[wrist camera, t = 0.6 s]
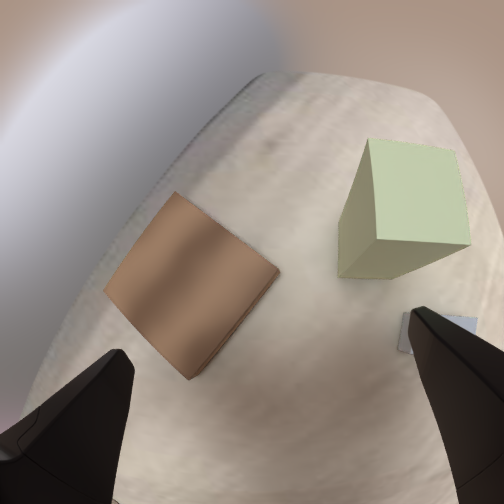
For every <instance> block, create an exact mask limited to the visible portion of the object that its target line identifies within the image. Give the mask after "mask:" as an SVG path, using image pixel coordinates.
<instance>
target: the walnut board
mask: <svg viewBox="0 0 504 504" xmlns="http://www.w3.org/2000/svg"><path fill="white" fill-rule="evenodd" d="M279 274H280V271H279V269H278V268H277V267H275V266H274V265H273V264H271V263H270V262H269V261H267V260H266V259H265V258H263V257H262V256H261V255H259V254H258V253H257V252H255V251H254V250H253V249H251V248H250V247H249V246H247V245H246V244H245V243H243V242H242V241H241V240H239V239H238V238H237V237H235V236H234V235H233V234H231V233H230V232H229V231H227V230H226V229H225V228H223V227H222V226H221V225H219V224H218V223H217V222H215V221H214V220H213V219H211V218H210V217H209V216H207V215H206V214H205V213H203V212H202V211H201V210H199V209H198V208H197V207H195V206H194V205H193V204H191V203H190V202H189V201H187V200H186V199H185V198H183V197H182V196H181V195H179V194H178V193H177V192H174V193H173V194H172V196H171V197H170V198H169V199H168V201H167V202H166V203H165V204H164V206H163V207H162V208H161V209H160V211H159V212H158V213H157V215H156V216H155V217H154V218H153V220H152V221H151V222H150V224H149V225H148V226H147V228H146V229H145V230H144V232H143V233H142V235H141V236H140V237H139V239H138V240H137V241H136V243H135V244H134V246H133V247H132V248H131V250H130V251H129V253H128V254H127V256H126V257H125V258H124V260H123V261H122V263H121V264H120V266H119V267H118V269H117V270H116V272H115V273H114V275H113V276H112V278H111V279H110V281H109V282H108V284H107V285H106V287H105V288H104V290H103V291H104V292H105V293H106V295H107V296H108V297H109V298H110V299H111V301H112V302H113V303H114V304H115V305H116V307H117V308H118V309H119V310H120V311H121V312H122V314H123V315H124V316H125V317H126V318H127V319H128V320H129V321H130V323H131V324H132V325H133V326H134V327H135V328H136V329H137V330H138V331H139V332H140V333H141V334H142V336H143V337H144V338H145V339H146V340H147V341H148V342H149V343H150V344H151V345H152V346H153V347H154V348H155V349H156V350H157V351H158V352H159V353H160V354H161V355H162V356H163V357H164V358H165V359H166V360H167V361H168V362H169V363H170V364H171V365H172V366H173V367H174V368H175V369H176V370H178V371H179V372H180V373H181V374H182V375H183V376H184V377H185V378H186V379H187V380H190V379H192V378H194V377H196V376H197V375H198V374H199V373H200V372H201V371H202V369H203V368H204V367H205V366H206V365H207V364H208V362H209V361H210V360H211V359H212V358H213V356H214V355H215V354H216V353H217V351H218V350H219V349H220V348H221V347H222V345H223V344H224V343H225V342H226V340H227V339H228V338H229V337H230V336H231V334H232V333H233V332H234V331H235V329H236V328H237V327H238V326H239V324H240V323H241V322H242V321H243V319H244V318H245V317H246V316H247V314H248V313H249V312H250V311H251V309H252V308H253V307H254V306H255V304H256V303H257V302H258V301H259V299H260V298H261V297H262V295H263V294H264V293H265V292H266V290H267V289H268V288H269V287H270V285H271V284H272V283H273V281H274V280H275V279H276V277H277V276H278V275H279Z"/></svg>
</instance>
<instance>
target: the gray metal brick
mask: <svg viewBox="0 0 504 504" xmlns="http://www.w3.org/2000/svg"><path fill="white" fill-rule="evenodd" d="M441 316H443V317H445V318H447V319H448V320H450V321H452V322H454V323H455V324H457V325H459V326H461V327H462V328H464V329H466V330H468V331H469V332H471V333H473V334H476V327H477V319H478V318H475V317H461V316H448V315H441ZM409 319H410V313H404V314H403V321H402V328H401V334H400V340H399V345H398V350H401V351H403V352H406V353H408V354H413V350H412V347H411V344H410V341H409V338H408V325H409Z"/></svg>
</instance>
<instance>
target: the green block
mask: <svg viewBox="0 0 504 504" xmlns="http://www.w3.org/2000/svg"><path fill="white" fill-rule="evenodd" d="M470 245H471V237H470V228H469V220H468V213H467V206H466V200H465V195H464V189H463V184H462V180H461V175H460V171H459V166H458V162H457V158H456V155H455V151H453V150H448V149H443V148H438V147H432V146H426V145H420V144H414V143H407V142H399V141H392V140H383V139H373V138H368V139H367V143H366V146H365V149H364V152H363V155H362V158H361V161H360V164H359V167H358V170H357V173H356V176H355V179H354V182H353V185H352V187H351V190H350V193H349V196H348V199H347V201H346V204H345V207H344V209H343V212H342V215H341V217H340V220H339V241H338V278H358V279H390V280H391V279H394V278H396V277H399V276H401V275H404V274H406V273H409V272H411V271H414V270H416V269H418V268H421V267H423V266H426V265H428V264H430V263H433V262H435V261H437V260H439V259H442V258H444V257H446V256H449V255H451V254H453V253H455V252H457V251H459V250H462V249H464V248H466V247H468V246H470Z"/></svg>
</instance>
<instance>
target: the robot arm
mask: <svg viewBox="0 0 504 504" xmlns="http://www.w3.org/2000/svg"><path fill="white" fill-rule="evenodd" d="M408 338H409V341H410V344H411V347H412V350H413V354H414V357H415V361H416V364H417V368H418V371H419V375H420V378H421V381H422V384H423V386H424V389H425V391H426V394H427V397H428V399H429V402H430V405H431V407H432V410H433V413H434V416H435V419H436V421H437V424H438V427H439V430H440V433H441V436H442V440H443V443H444V446H445V449H446V453H447V456H448V460H449V463H450V467H451V471H452V475H453V479H454V483H455V487H456V489H457V490H456V492H457V497H458V502H459V504H504V352H503V351H502V350H500V349H498V348H497V347H495V346H493V345H491V344H490V343H488V342H486V341H485V340H483V339H481V338H480V337H478V336H476V335H475V334H473V333H471V332H469V331H468V330H466V329H464V328H462V327H461V326H459V325H457V324H455V323H454V322H452V321H450V320H448V319H447V318H445V317H443V316H441V315H439V314H438V313H436V312H434V311H432V310H430V309H429V308H427V307H425V306H422V307H418V308H414V309H412V310H411V313H410V319H409V325H408ZM134 374H135V369H134V366H133V364H132V362H131V361H130V359H129V358H128V356H127V355H126V353H125V352H124V351H123V350H122V349H112V350H110V351H108V352H107V353H106V354H105V355H103V356H102V357H101V358H99V359H98V360H97V361H96V362H94V363H93V364H92V365H91V366H89V367H88V368H87V369H85V370H84V371H83V372H82V373H80V374H79V375H78V376H77V377H75V378H74V379H73V380H72V381H70V382H69V383H68V384H66V385H65V386H64V387H63V388H61V389H60V390H59V391H58V392H56V393H55V394H54V395H53V396H51V397H50V398H49V399H48V400H46V401H45V402H44V403H43V404H41V406H39V407H37V408H36V409H35V410H34V411H32V412H31V413H30V414H29V415H27V416H26V417H25V418H23V419H22V420H20V421H19V422H18V423H16V424H15V425H13V426H12V427H10V428H9V429H8V430H6V431H4V432H3V433H2V434H0V504H112V498H113V491H114V484H115V478H116V472H117V467H118V461H119V456H120V451H121V446H122V441H123V436H124V431H125V427H126V422H127V418H128V413H129V408H130V401H131V394H132V387H133V380H134Z"/></svg>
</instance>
